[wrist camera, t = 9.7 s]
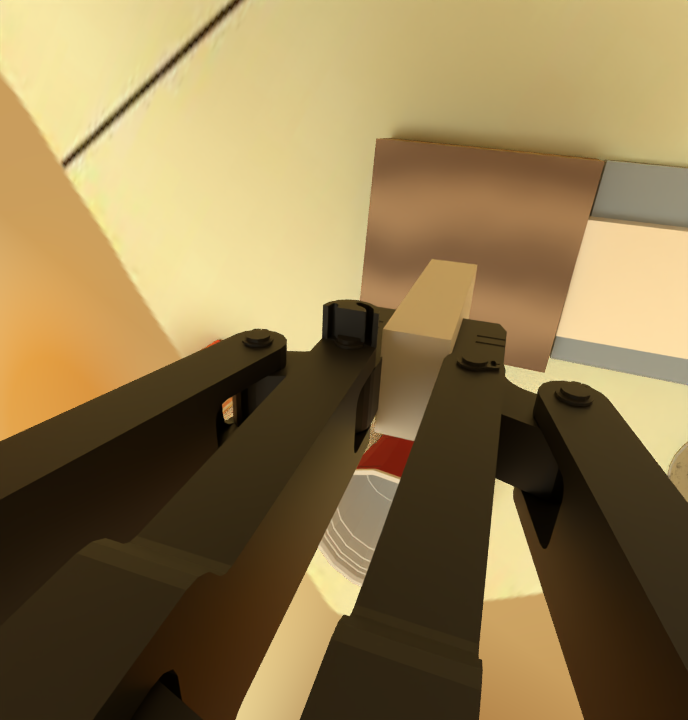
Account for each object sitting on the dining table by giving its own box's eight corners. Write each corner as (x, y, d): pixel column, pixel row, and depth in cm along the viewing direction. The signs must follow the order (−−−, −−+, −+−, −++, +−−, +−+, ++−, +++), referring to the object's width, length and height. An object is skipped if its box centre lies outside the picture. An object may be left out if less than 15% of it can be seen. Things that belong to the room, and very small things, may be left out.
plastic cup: (406, 374, 44) (368, 448, 33) (494, 459, 44) (484, 559, 34) (331, 440, 49) (277, 521, 39) (410, 515, 50) (378, 616, 39)
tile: (584, 215, 34) (587, 219, 32) (757, 235, 31) (770, 241, 29) (554, 326, 37) (555, 335, 35) (707, 353, 35) (717, 364, 33)
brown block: (390, 138, 37) (376, 138, 33) (596, 158, 33) (604, 161, 30) (370, 318, 43) (356, 334, 39) (543, 351, 39) (544, 372, 36)
